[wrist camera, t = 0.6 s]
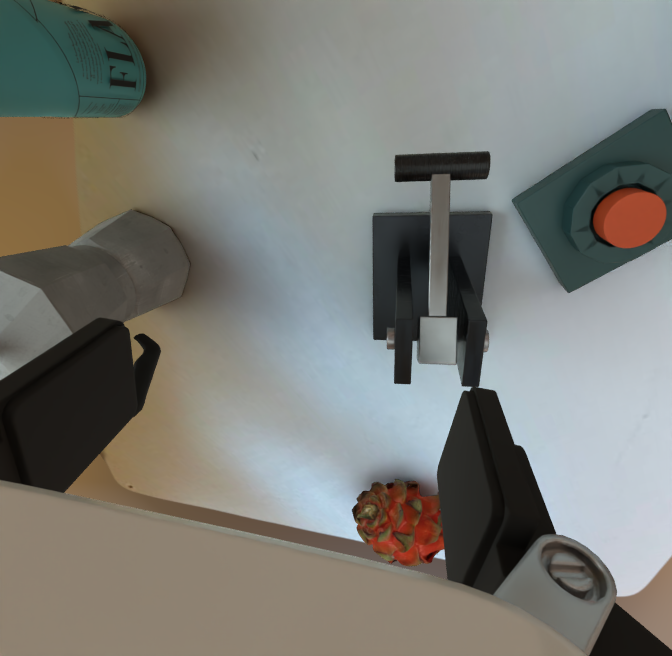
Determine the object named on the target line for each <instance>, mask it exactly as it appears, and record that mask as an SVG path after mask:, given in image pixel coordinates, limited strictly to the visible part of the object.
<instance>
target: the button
mask: <svg viewBox="0 0 672 656" xmlns="http://www.w3.org/2000/svg"><path fill="white" fill-rule="evenodd" d="M665 220H666V206H665V204H664V202H663V200H662V199H661V198H660V197H659V196H657V195H655V194H653V193H650V192H647V191H644V190H641V189H637V188H623V189H620V190H617V191H615V192H613V193H611V194H610V195H608V196H607V197H606V198H604V199H603V200H602V201H601V203H600V204H599V205H598V207H597V209H596V211H595V213H594V217H593V226H594V229H595V231H596V233H597V234H598V235H599V236H600V237H601V238H603V239H604V240H606V241H607V242H609V243H611V244H612V245H614V246H616V247H620V248H634V247H638V246H640V245H643V244H645V243H647V242H648V241H650V240H651V239H653V238H654V237H655V236H656V235H657V234H658V233H659V231H660V230H661V229H662V227H663V225H664V223H665Z"/></svg>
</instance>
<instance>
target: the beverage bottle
mask: <svg viewBox="0 0 672 656" xmlns="http://www.w3.org/2000/svg"><path fill="white" fill-rule="evenodd" d="M59 3H60V4H58V3H56V2H55V3H54V2H51V1H48V0H0V117H39V116H40V117H42V116H53V117H75V118H76V117H97V118H98V117H120V116H123V115H126V114H128V113H129V112H131V111H132V110H134V109H135V108H136V107H137V106H138V104H139V103H140V102H141V100H142V98H143V95H144V92H145V88H146V70H145V66H144V62H143V59H142V56H141V54H140V52H139V50H138V48H137V46H136V45H135V43H134V42H133V40H132V39H131V38H130V37H129V35H128V34H127V33H125V32H124V31H123V30H122V29H121V28H119V27H118V26H117V25H116V24H114V23H113V22H111V20H110V18H109V20H110V21H109V20H107V19H108V18H107V19H105V18H106V17H105V18H104V17H103V18H102V16H104V15H102V16H101V15H99V16H101V17H98V16H95V15H92V14H89V13H86V12H83V11H80V10H77V9H83V8H80V7H77V6H74V5H73V6H71V4H70V6H69V7H67V4H66V5H65V4H62V3H61V2H59ZM61 4H62V5H61ZM64 5H65V6H64ZM70 7H73V8H74V9H73V8H70ZM83 10H84V11H85V10H86V9H83ZM88 11H89V10H88ZM89 12H91V11H89ZM91 13H93V12H91ZM94 14H95V13H94ZM96 15H97V14H96ZM115 23H116V22H115ZM128 115H129V114H128Z"/></svg>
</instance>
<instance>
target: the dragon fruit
mask: <svg viewBox="0 0 672 656" xmlns="http://www.w3.org/2000/svg"><path fill="white" fill-rule="evenodd" d="M408 485H409V486H408ZM407 486H408V487H407ZM406 487H407V488H406ZM357 501H358V503H357V504H356V505H355V506H354V508H353V509H352V512H353V516H354V520H355V522H356V523H357V524H358V525H357V531H358V533H359V535H360V537H361V538H362V539H363V541H364V542H365V543H366V544H367V545H373V550H374V552H376V553H377V554H378V555H380V556H381V557H382V558H383V559H385V560H387V561H388V562H389V563H393V562H394V561H397V560H398V561H399V562H400V563H401V564H402V565H405V566H417V565H419V564H421V563H426V564H428V563H431V562H432V559H433V557H434V556H435V555H436V554H437V553H438V552H439V551H440V550H443V549H444V539H443V530H442V520H441V510H439V509H440V500H439V492H438V495H435V496H426V497H422V496H421V495H420V493H419V484H418V482H416V481H412V482H410V481H408V482H405V483H404V482H403V481H401V480H397V479H395V481H394V483H390V484H389V483H387V484H386V485H383V484H381V483H379V482H374V483H372V488H371V489H370V491H363V492H362V493H361V494H360V495H359V496H358V498H357Z"/></svg>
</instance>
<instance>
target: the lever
mask: <svg viewBox="0 0 672 656" xmlns="http://www.w3.org/2000/svg"><path fill="white" fill-rule="evenodd" d="M489 170H490V153H489V152H488V151H483V152H457V153H431V154H405V155H395V182H410V181H431V182H430V222H429V261H428V301H427V316H428V317H427V316H418V323H417V361H418V363H419V364H444V365H456V364H457V328H458V318H457V317H447V289H448V252H449V215H450V180H478V179H487V177H488V175H489Z"/></svg>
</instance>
